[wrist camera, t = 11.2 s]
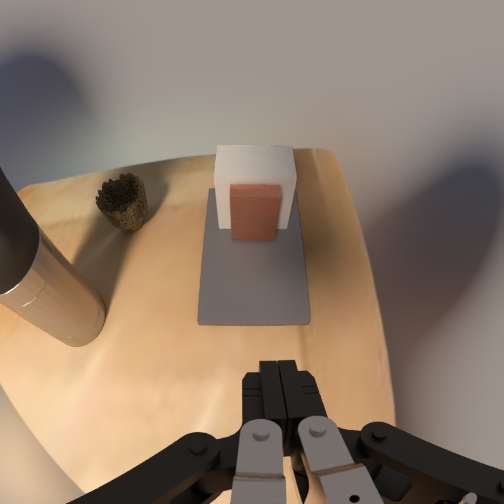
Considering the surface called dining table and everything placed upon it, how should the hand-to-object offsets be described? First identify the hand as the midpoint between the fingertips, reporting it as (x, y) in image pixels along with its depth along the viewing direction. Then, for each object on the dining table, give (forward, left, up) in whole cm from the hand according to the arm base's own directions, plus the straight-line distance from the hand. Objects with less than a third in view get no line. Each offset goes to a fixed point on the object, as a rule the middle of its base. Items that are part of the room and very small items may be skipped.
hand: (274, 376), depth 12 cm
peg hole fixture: (0, +21, -24) cm, 31 cm away
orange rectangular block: (0, +27, -22) cm, 35 cm away
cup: (-19, +26, -24) cm, 40 cm away
